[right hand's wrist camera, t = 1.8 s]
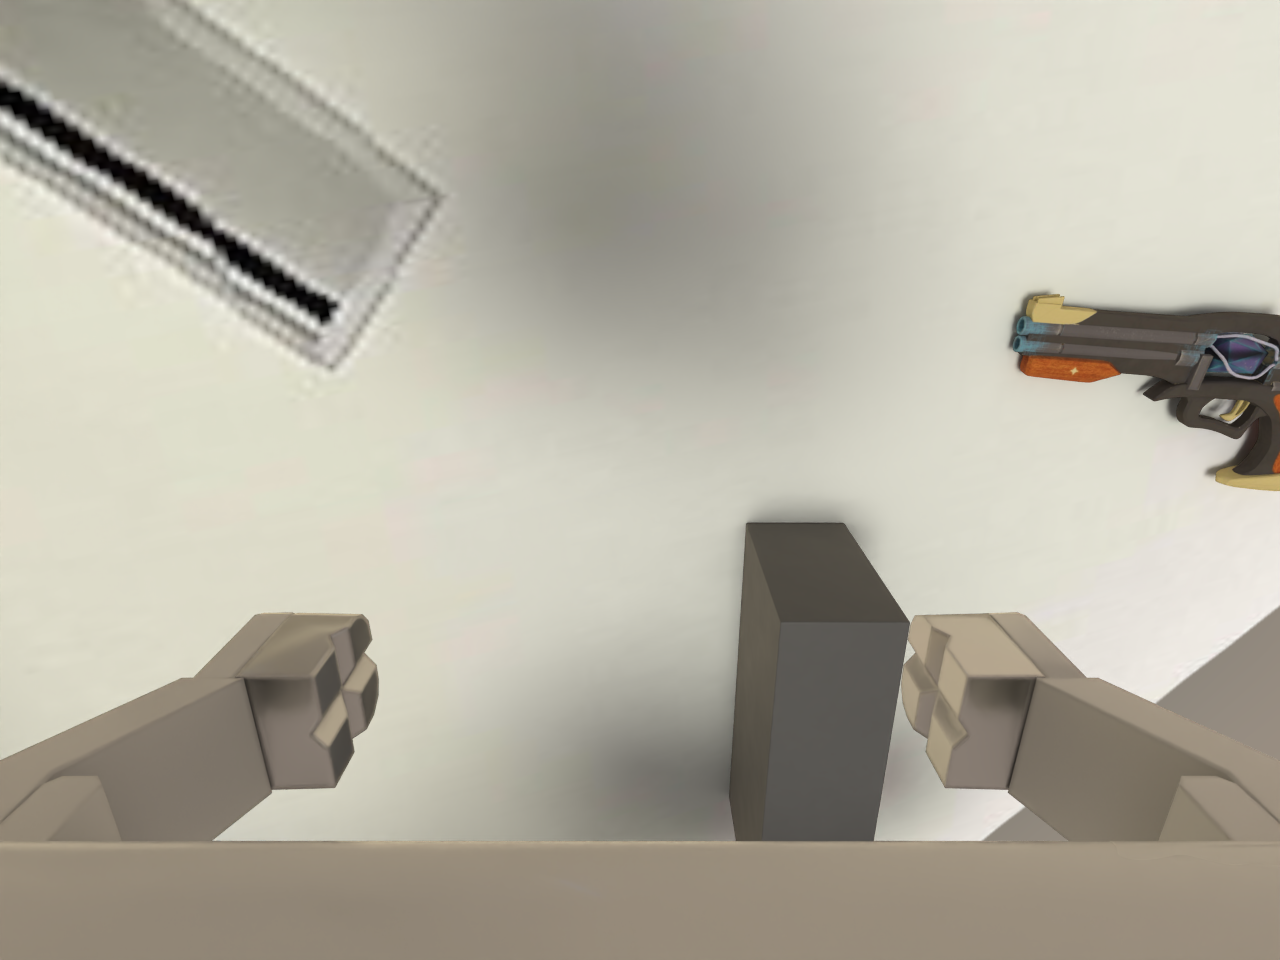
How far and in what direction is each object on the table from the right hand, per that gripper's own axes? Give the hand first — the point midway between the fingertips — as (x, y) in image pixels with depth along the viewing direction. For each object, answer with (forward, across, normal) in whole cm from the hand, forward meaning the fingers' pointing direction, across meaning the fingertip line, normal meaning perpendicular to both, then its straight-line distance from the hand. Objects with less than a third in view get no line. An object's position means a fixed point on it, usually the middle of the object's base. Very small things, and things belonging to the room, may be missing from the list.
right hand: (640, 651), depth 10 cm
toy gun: (+30, +30, -3) cm, 42 cm away
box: (+30, +10, -22) cm, 38 cm away
